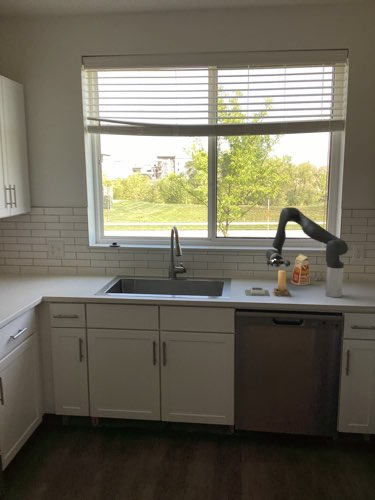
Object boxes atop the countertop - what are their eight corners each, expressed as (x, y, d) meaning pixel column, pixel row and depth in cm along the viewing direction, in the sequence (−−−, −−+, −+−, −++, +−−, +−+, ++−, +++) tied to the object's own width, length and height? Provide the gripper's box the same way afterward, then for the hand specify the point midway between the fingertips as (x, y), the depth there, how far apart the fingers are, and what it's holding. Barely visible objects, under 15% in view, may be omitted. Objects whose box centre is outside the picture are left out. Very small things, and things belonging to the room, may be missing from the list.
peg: (285, 293, 247) (286, 270, 245) (284, 295, 243) (285, 272, 241) (278, 292, 249) (279, 270, 246) (277, 294, 245) (277, 271, 242)
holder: (288, 293, 250) (288, 288, 250) (291, 298, 241) (291, 292, 240) (271, 293, 251) (272, 287, 251) (273, 297, 242) (273, 292, 241)
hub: (267, 291, 255) (268, 286, 255) (270, 298, 241) (270, 292, 241) (244, 291, 257) (245, 285, 256) (245, 297, 243) (246, 291, 242)
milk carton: (290, 282, 279) (292, 253, 276) (301, 281, 283) (303, 252, 279) (299, 285, 271) (301, 255, 267) (311, 284, 274) (312, 254, 271)
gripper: (265, 253, 270) (268, 258, 255) (288, 254, 269) (291, 259, 253) (265, 265, 272) (267, 270, 256) (287, 265, 270) (291, 271, 255)
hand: (279, 265), depth 255 cm, fingers open, 8 cm apart
